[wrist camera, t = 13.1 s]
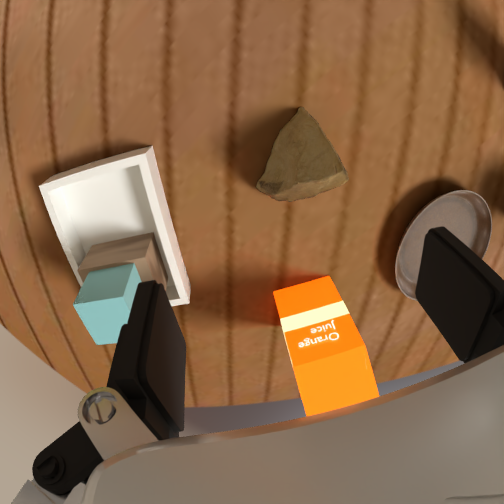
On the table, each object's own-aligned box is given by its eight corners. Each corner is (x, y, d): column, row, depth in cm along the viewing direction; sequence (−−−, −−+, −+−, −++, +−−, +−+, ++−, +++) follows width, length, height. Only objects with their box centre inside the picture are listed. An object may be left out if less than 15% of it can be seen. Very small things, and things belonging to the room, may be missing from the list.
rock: (274, 226, 39) (350, 192, 36) (254, 220, 30) (351, 176, 28) (242, 149, 40) (312, 116, 37) (215, 127, 31) (301, 84, 29)
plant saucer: (420, 308, 54) (428, 319, 51) (362, 252, 45) (372, 264, 42) (492, 232, 47) (503, 241, 44) (452, 155, 38) (466, 162, 36)
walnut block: (91, 245, 38) (77, 270, 33) (153, 232, 39) (145, 257, 34) (110, 287, 42) (99, 315, 37) (168, 277, 42) (163, 305, 37)
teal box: (89, 271, 34) (72, 304, 28) (134, 263, 34) (122, 296, 29) (108, 310, 37) (96, 344, 32) (151, 304, 37) (144, 339, 32)
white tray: (52, 175, 34) (38, 186, 30) (152, 145, 34) (145, 153, 30) (103, 299, 44) (96, 317, 41) (190, 285, 44) (189, 303, 41)
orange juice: (333, 311, 50) (378, 413, 33) (281, 326, 51) (310, 435, 33) (329, 274, 46) (383, 381, 29) (271, 290, 46) (302, 407, 29)
